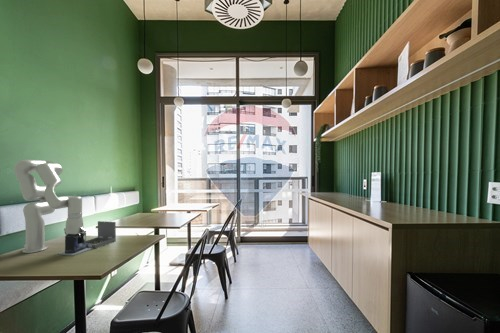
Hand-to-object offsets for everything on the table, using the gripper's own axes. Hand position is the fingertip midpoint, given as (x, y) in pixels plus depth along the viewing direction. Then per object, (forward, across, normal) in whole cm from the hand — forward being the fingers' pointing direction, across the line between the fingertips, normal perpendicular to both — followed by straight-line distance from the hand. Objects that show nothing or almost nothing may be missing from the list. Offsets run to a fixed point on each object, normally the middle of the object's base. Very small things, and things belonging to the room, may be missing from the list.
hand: (74, 242), depth 158 cm
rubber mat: (+6, +1, 0) cm, 6 cm away
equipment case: (+6, +1, +16) cm, 17 cm away
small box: (+5, +1, 0) cm, 5 cm away
